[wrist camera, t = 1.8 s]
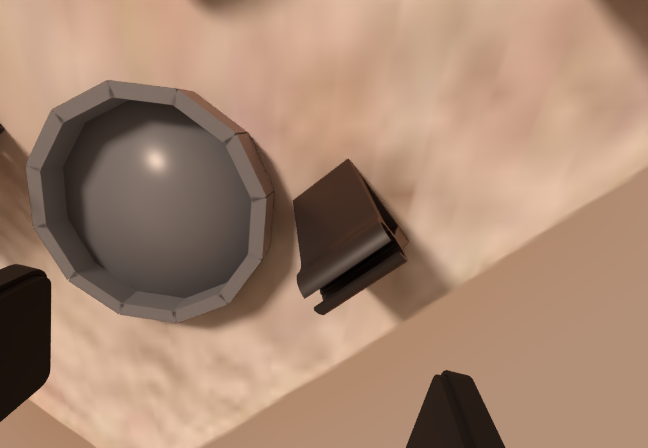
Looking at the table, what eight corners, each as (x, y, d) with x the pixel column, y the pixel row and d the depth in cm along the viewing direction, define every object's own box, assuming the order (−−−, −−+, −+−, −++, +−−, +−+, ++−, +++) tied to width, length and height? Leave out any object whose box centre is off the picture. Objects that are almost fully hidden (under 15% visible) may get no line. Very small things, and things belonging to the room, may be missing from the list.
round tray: (281, 102, 29) (274, 100, 26) (264, 317, 34) (256, 335, 32) (46, 73, 30) (13, 68, 27) (67, 288, 35) (42, 302, 32)
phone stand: (408, 240, 31) (441, 309, 20) (353, 276, 33) (354, 360, 21) (348, 157, 30) (346, 180, 18) (293, 199, 31) (259, 244, 20)
